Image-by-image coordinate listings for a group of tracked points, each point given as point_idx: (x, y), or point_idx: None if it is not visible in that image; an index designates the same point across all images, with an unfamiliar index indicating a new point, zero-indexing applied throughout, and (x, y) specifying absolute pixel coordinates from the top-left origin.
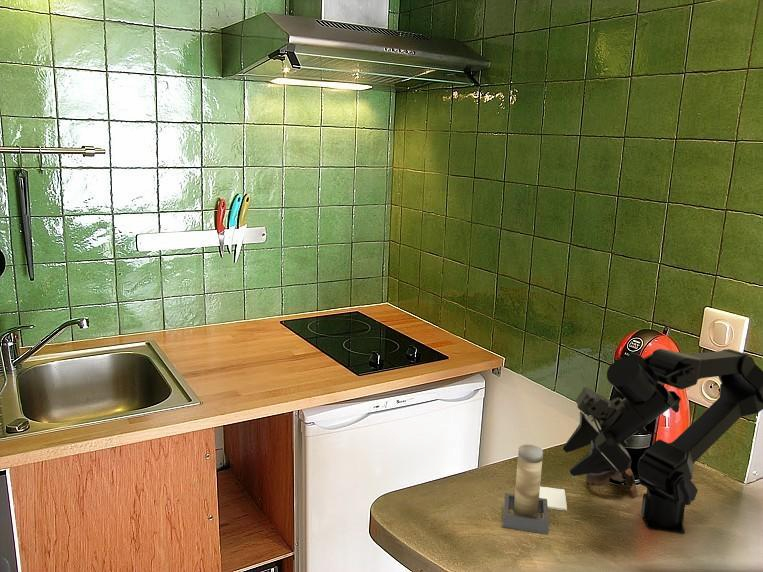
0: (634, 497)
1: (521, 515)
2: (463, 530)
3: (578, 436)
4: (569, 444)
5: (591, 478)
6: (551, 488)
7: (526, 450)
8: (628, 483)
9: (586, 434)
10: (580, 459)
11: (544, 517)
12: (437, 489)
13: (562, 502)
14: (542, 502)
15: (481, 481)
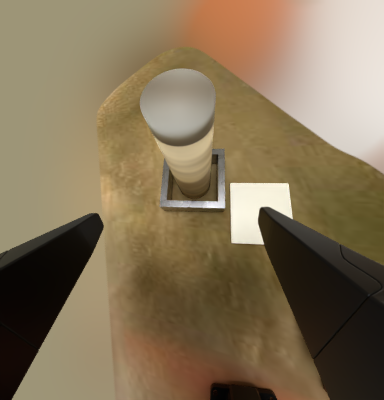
0: (325, 390)
1: (168, 170)
2: None
3: (310, 273)
4: (272, 227)
5: None
6: None
7: (170, 87)
8: None
9: (342, 338)
10: (43, 244)
11: (169, 201)
12: (236, 86)
13: (250, 237)
14: (217, 202)
15: (277, 129)
